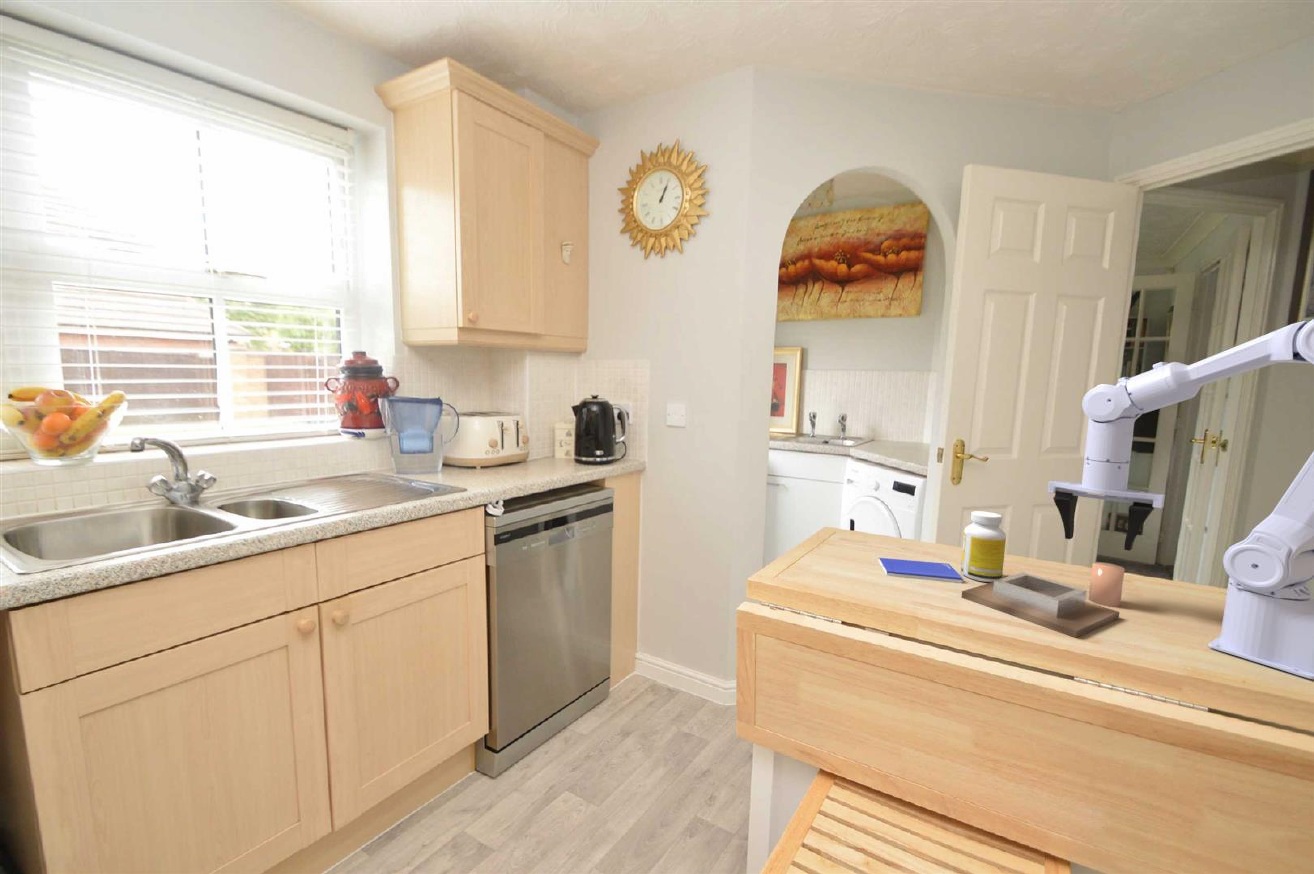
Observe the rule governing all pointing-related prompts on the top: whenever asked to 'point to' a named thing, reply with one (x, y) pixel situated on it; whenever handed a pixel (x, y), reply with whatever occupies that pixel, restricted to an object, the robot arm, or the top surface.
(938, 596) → the top surface
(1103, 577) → the terracotta peg
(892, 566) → the hard drive
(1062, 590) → the steel collar
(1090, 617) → the mount board
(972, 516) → the pill bottle
